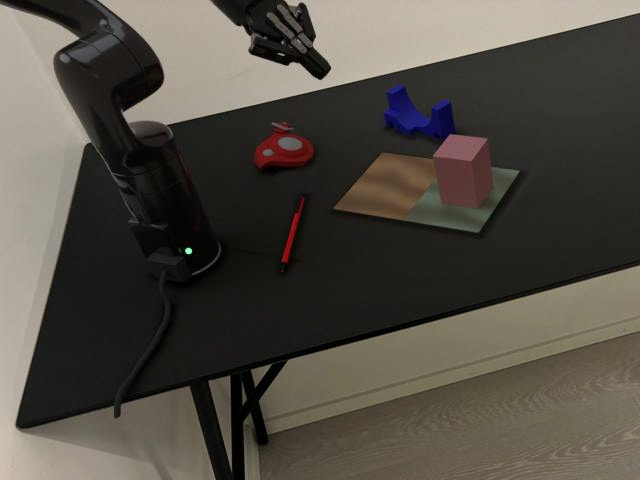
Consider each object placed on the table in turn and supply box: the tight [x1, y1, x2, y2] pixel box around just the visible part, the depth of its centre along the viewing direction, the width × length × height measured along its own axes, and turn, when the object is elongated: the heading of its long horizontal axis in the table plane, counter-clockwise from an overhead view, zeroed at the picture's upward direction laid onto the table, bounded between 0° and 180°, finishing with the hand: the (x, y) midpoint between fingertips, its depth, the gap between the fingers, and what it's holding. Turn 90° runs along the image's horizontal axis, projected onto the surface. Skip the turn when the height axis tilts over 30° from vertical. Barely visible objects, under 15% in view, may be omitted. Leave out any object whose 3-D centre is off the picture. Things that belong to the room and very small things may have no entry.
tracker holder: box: [253, 121, 315, 171], centre depth 138 cm, size 12×4×10 cm
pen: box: [280, 194, 306, 273], centre depth 123 cm, size 1×19×1 cm, turn 179°
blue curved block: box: [382, 83, 457, 142], centre depth 138 cm, size 12×4×6 cm, turn 47°
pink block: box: [432, 134, 494, 209], centre depth 121 cm, size 6×6×8 cm
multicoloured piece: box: [332, 152, 521, 234], centre depth 127 cm, size 16×24×1 cm, turn 65°
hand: (326, 74), depth 119 cm, fingers closed
